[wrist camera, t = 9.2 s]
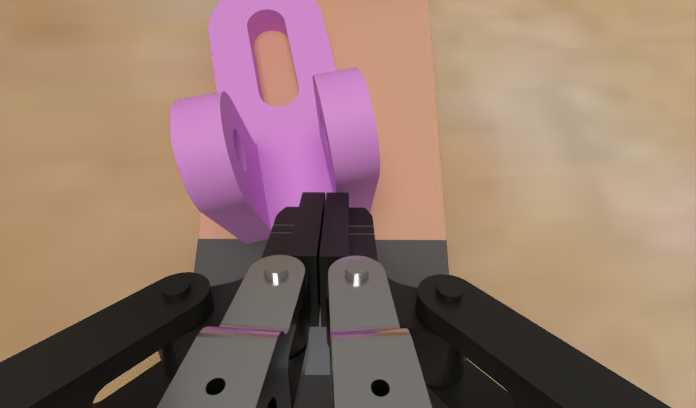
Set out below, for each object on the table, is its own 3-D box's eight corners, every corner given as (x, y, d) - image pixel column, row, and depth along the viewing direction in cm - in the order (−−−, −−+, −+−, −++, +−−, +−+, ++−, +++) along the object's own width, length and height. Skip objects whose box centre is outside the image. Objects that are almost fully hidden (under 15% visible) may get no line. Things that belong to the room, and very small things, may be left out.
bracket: (368, 217, 16) (385, 152, 10) (245, 244, 16) (176, 194, 9) (313, -5, 20) (298, -164, 13) (212, 12, 20) (145, -142, 13)
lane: (115, 942, 10) (64, 1081, 9) (233, -30, 21) (222, -64, 19) (496, 938, 11) (529, 1075, 9) (424, -28, 21) (432, -62, 19)
